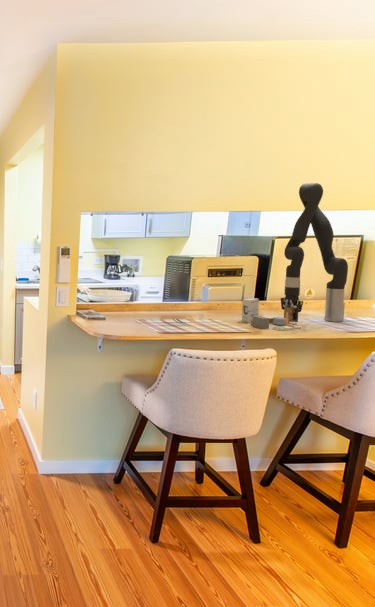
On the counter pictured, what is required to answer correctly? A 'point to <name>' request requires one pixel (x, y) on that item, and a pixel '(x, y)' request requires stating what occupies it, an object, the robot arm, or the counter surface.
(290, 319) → the brown wooden block
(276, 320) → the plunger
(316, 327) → the counter surface
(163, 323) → the counter surface
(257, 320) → the gauge bed
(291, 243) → the robot arm
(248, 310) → the ink box
